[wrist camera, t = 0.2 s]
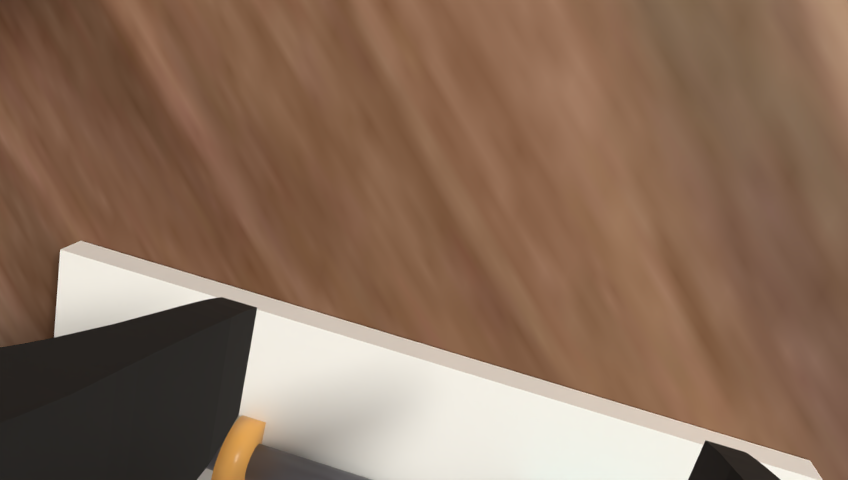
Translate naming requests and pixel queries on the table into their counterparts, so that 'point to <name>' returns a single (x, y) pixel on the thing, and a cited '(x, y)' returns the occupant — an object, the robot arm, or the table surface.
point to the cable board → (391, 397)
